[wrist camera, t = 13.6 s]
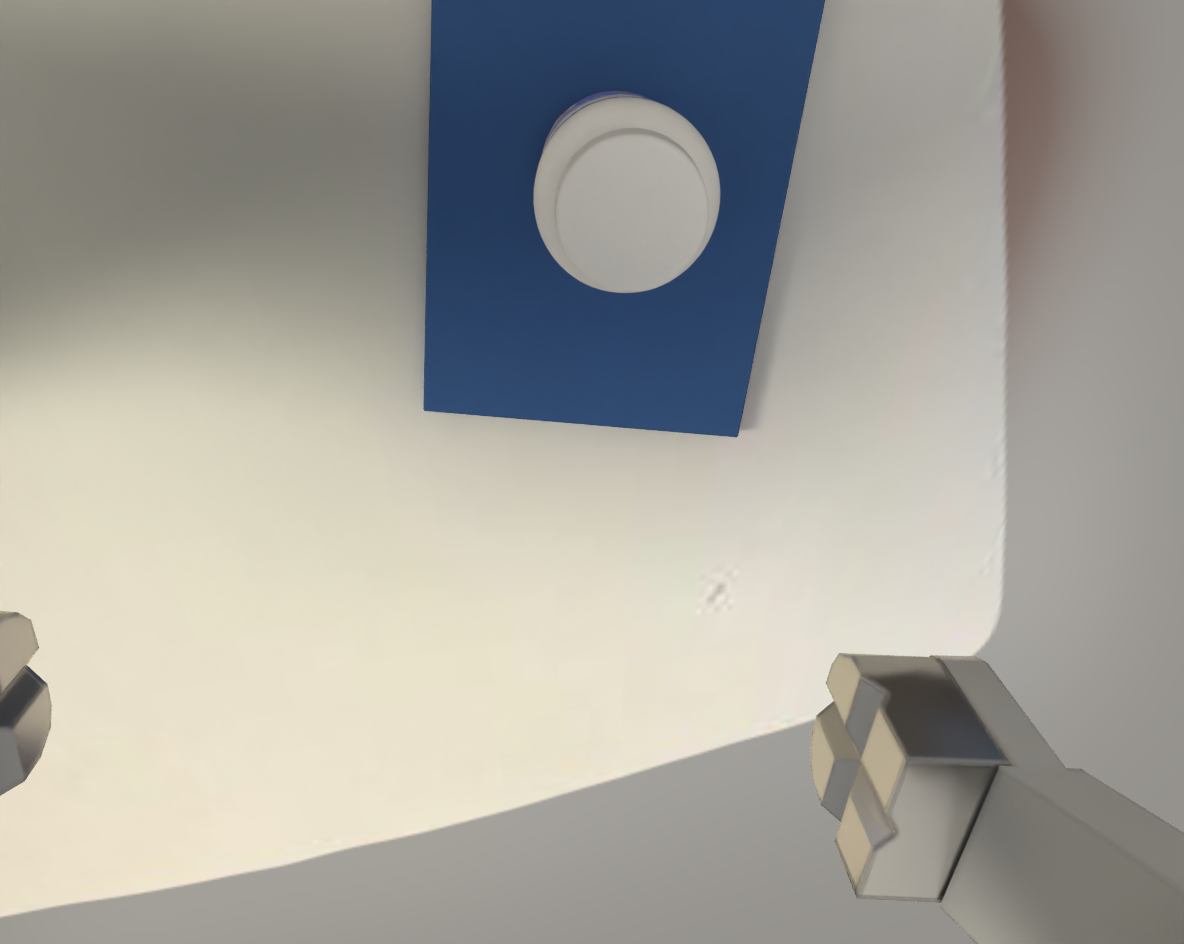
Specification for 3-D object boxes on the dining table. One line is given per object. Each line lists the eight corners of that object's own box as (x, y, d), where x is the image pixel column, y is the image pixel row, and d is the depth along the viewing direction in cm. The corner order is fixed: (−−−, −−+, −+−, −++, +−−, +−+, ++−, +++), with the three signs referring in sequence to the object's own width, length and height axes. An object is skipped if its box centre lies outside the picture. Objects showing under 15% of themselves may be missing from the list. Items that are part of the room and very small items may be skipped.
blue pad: (425, 405, 35) (423, 411, 34) (437, -199, 26) (435, -204, 25) (735, 432, 36) (738, 437, 35) (848, -141, 27) (854, -145, 26)
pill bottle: (708, 216, 31) (766, 279, 22) (571, 269, 32) (576, 350, 23) (661, 62, 29) (706, 66, 20) (515, 123, 29) (496, 152, 21)
